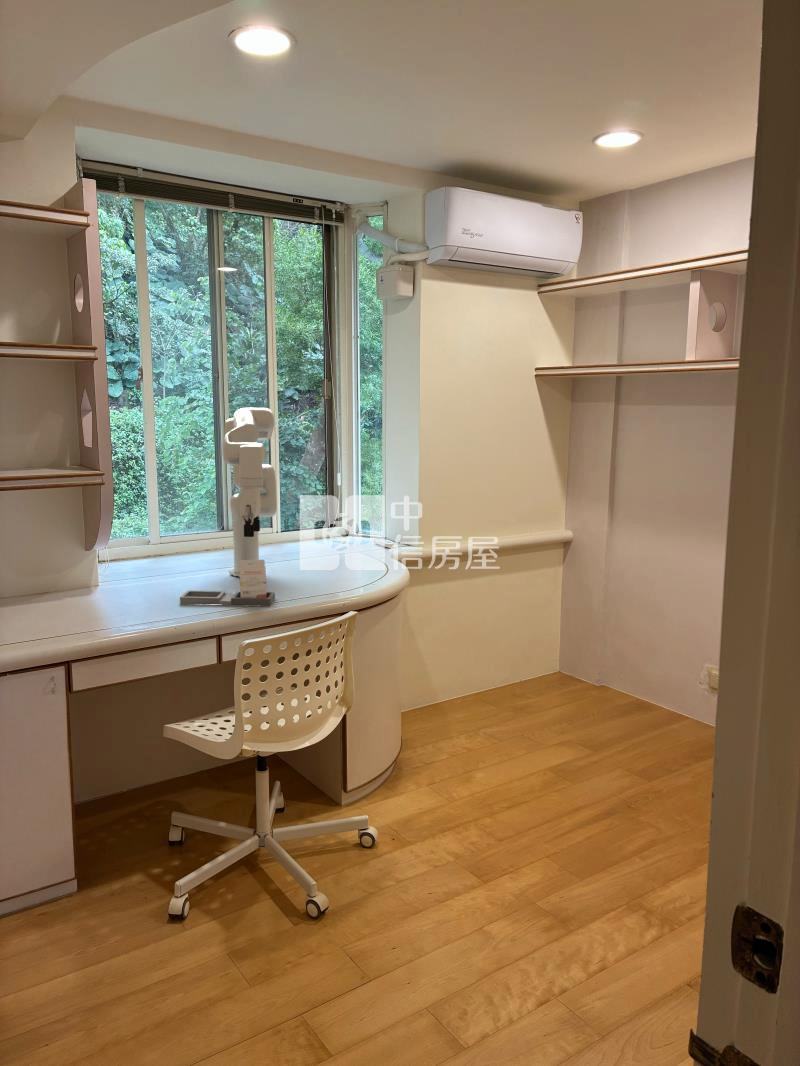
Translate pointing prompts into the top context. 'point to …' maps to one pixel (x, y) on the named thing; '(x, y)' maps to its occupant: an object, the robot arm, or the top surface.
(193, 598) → the brown rectangular tray
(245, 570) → the ink cartridge box
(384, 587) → the top surface
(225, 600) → the grey tray
